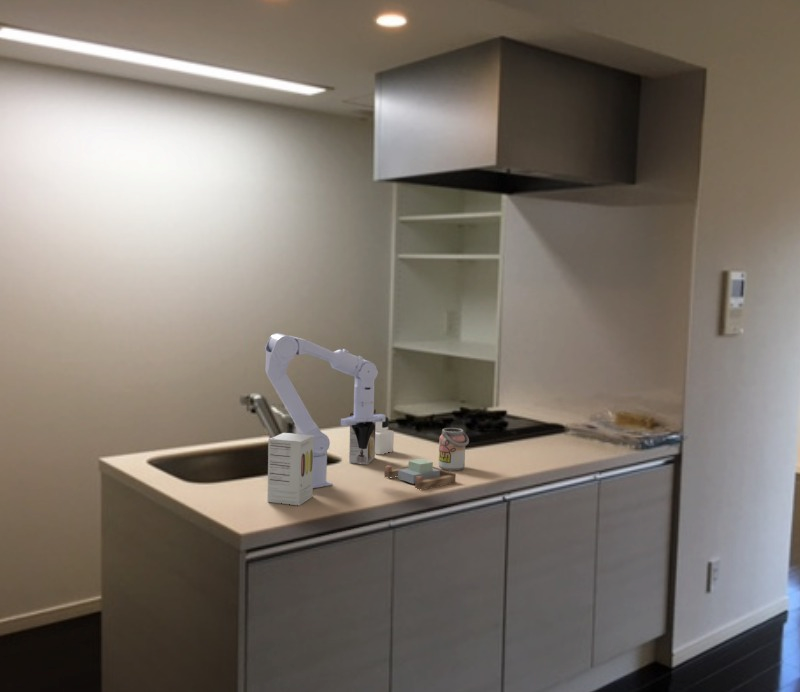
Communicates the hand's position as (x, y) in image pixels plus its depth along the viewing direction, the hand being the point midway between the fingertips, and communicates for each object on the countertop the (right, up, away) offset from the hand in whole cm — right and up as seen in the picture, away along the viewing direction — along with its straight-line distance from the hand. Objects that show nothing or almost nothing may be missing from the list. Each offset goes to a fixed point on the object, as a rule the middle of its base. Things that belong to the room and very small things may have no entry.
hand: (362, 448), depth 230 cm
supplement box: (-18, -11, -20) cm, 29 cm away
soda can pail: (+27, -9, +18) cm, 34 cm away
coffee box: (-1, -7, +24) cm, 25 cm away
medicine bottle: (+4, -6, +37) cm, 38 cm away
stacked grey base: (+16, -10, +3) cm, 19 cm away
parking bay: (+16, -10, +3) cm, 19 cm away
